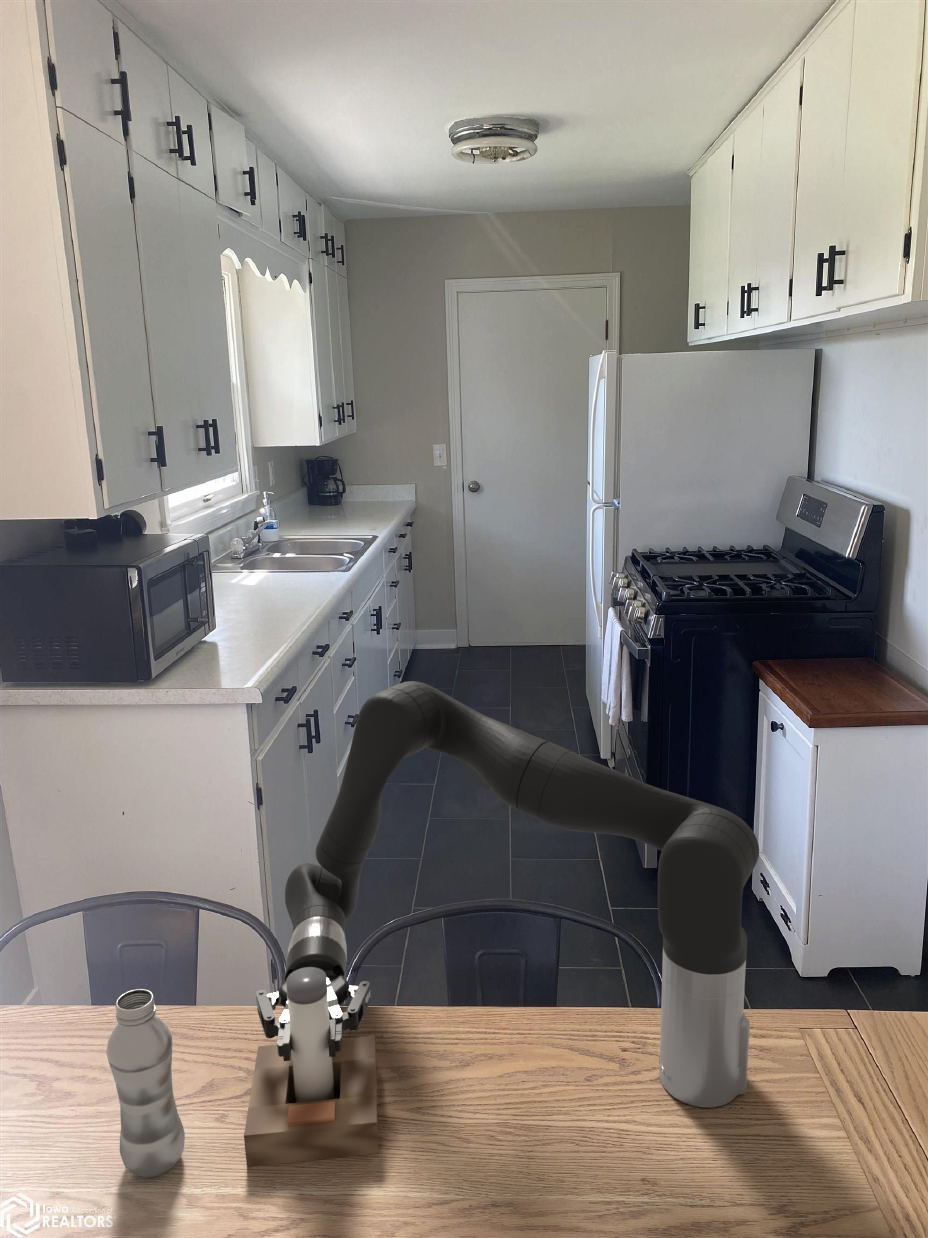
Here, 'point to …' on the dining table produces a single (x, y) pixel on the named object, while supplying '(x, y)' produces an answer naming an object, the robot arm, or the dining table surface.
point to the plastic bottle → (144, 1086)
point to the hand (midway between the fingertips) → (309, 1051)
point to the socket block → (313, 1109)
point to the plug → (310, 1034)
